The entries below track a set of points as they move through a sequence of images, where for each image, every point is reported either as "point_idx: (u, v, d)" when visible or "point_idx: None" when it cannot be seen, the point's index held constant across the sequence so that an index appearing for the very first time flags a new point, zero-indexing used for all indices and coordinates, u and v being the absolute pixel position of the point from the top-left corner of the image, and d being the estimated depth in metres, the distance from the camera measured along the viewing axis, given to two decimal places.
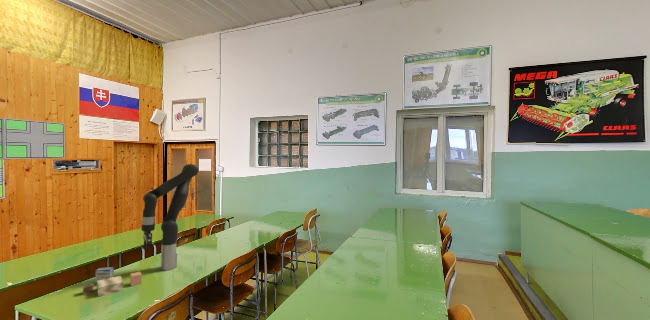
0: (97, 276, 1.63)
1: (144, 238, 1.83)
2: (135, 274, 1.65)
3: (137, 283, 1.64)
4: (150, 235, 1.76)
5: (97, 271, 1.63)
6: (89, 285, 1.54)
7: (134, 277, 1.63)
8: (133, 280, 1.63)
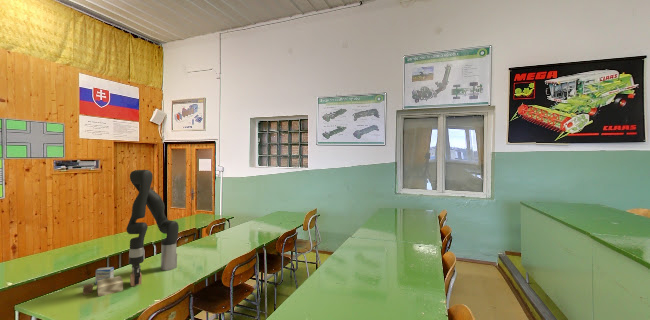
0: (97, 276, 1.63)
1: (133, 272, 1.66)
2: None
3: None
4: (138, 271, 1.61)
5: (97, 271, 1.63)
6: (89, 285, 1.54)
7: None
8: (133, 280, 1.63)
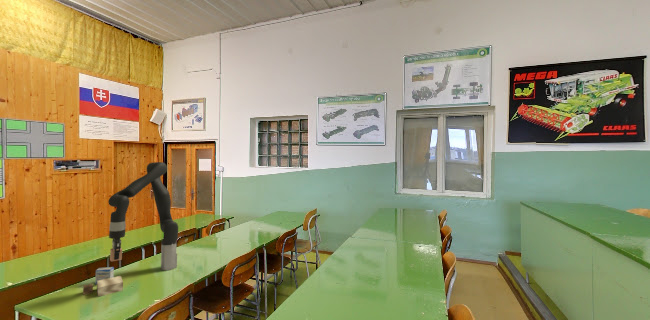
0: (97, 276, 1.63)
1: None
2: (116, 249, 1.58)
3: None
4: (118, 245, 1.54)
5: (97, 271, 1.63)
6: (89, 285, 1.54)
7: None
8: (113, 255, 1.56)
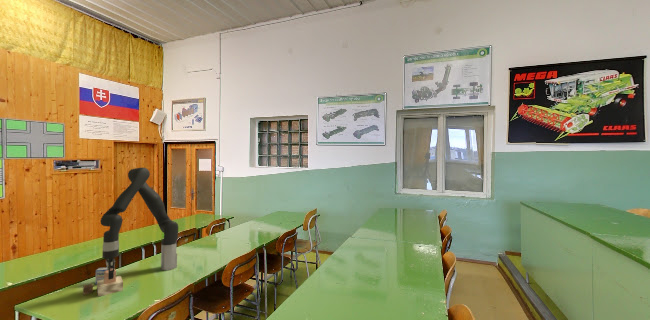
0: (97, 276, 1.63)
1: (107, 266, 1.59)
2: None
3: (111, 281, 1.55)
4: (112, 263, 1.52)
5: (97, 271, 1.63)
6: (89, 285, 1.54)
7: (108, 274, 1.54)
8: (107, 277, 1.54)
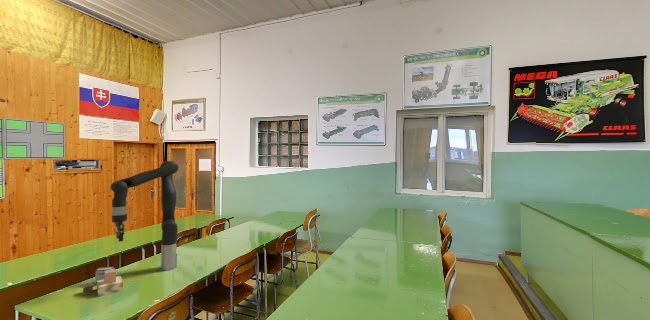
0: (97, 276, 1.63)
1: (116, 230, 1.68)
2: (109, 271, 1.56)
3: (111, 281, 1.55)
4: (122, 226, 1.62)
5: (97, 271, 1.63)
6: (89, 285, 1.54)
7: (108, 274, 1.54)
8: (107, 277, 1.54)
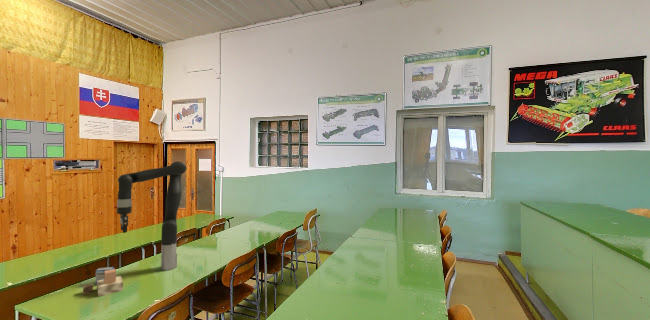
0: (97, 276, 1.63)
1: (121, 222, 1.74)
2: (109, 271, 1.56)
3: (111, 281, 1.55)
4: (126, 218, 1.68)
5: (97, 271, 1.63)
6: (89, 285, 1.54)
7: (108, 274, 1.54)
8: (107, 277, 1.54)
